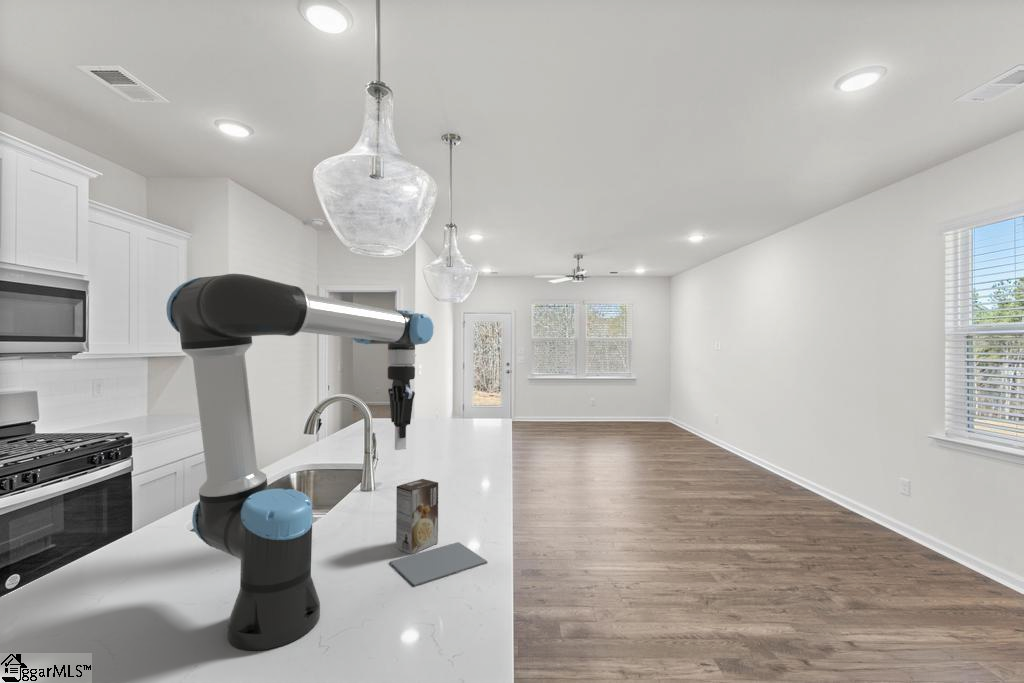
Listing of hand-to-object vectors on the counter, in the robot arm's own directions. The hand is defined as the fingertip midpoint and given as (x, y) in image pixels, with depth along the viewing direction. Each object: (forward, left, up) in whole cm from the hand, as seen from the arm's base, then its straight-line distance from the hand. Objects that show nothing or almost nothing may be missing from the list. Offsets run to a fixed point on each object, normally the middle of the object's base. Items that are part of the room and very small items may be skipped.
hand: (400, 449), depth 129 cm
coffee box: (0, -12, -23) cm, 26 cm away
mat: (0, -24, -23) cm, 33 cm away
